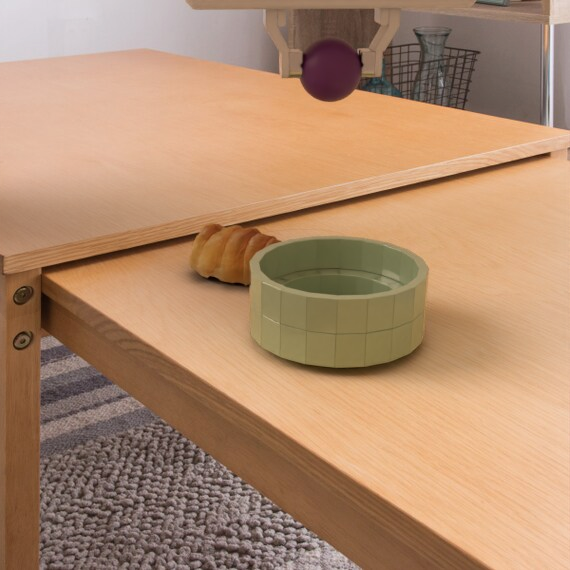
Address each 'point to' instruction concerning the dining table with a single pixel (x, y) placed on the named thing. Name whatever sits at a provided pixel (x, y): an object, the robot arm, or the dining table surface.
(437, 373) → the dining table surface
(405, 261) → the basin
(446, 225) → the dining table surface
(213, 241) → the pastry
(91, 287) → the dining table surface
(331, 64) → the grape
